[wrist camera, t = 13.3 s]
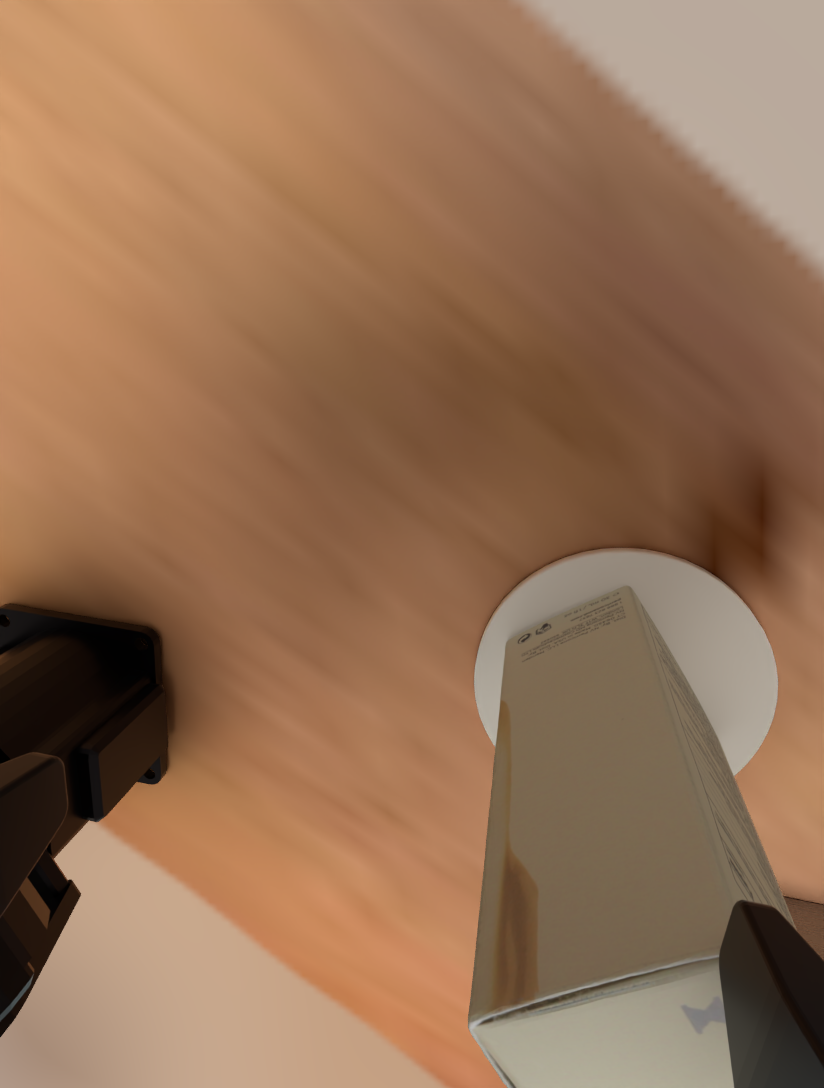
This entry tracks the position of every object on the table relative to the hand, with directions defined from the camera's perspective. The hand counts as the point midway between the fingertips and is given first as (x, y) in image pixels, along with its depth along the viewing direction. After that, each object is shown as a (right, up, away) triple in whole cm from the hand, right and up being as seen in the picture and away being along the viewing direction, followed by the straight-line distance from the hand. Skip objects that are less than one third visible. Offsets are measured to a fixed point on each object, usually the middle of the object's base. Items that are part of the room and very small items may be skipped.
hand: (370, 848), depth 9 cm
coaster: (+7, 0, +13) cm, 14 cm away
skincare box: (+7, -1, +12) cm, 14 cm away
